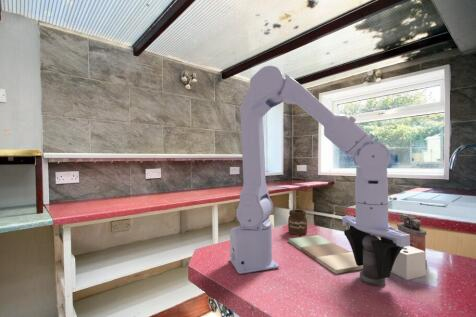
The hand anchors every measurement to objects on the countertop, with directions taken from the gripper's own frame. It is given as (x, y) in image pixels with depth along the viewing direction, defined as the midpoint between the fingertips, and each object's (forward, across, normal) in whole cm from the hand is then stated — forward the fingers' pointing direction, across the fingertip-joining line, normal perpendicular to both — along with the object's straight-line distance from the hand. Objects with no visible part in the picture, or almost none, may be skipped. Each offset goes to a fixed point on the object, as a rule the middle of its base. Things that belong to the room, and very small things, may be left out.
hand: (372, 270), depth 49 cm
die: (+2, 0, -9) cm, 9 cm away
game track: (+2, +15, 0) cm, 15 cm away
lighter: (+2, +6, -17) cm, 18 cm away
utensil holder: (+2, +32, -2) cm, 32 cm away
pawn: (+2, 0, 0) cm, 2 cm away
